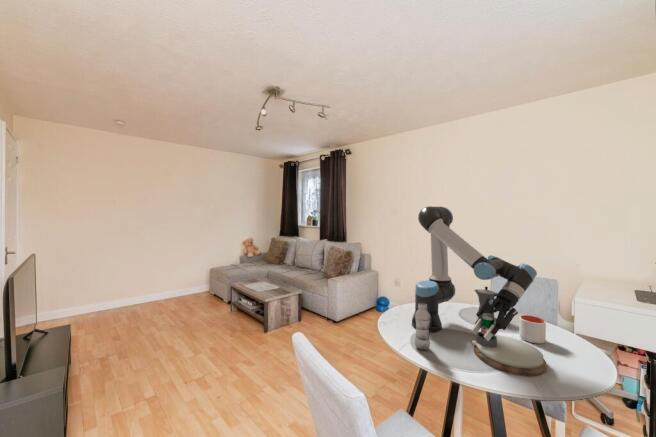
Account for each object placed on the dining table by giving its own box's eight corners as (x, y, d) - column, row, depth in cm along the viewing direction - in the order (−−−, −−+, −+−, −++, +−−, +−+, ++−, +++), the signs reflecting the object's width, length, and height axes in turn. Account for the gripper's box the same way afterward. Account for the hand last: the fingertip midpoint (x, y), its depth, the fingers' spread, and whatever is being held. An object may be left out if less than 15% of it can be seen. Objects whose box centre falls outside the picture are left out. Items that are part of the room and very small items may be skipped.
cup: (550, 345, 121) (550, 324, 121) (525, 343, 123) (526, 322, 122) (537, 335, 131) (538, 315, 130) (515, 333, 132) (515, 314, 132)
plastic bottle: (418, 343, 123) (418, 300, 123) (432, 348, 118) (433, 304, 118) (411, 348, 119) (412, 304, 118) (426, 353, 114) (426, 308, 113)
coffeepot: (470, 315, 156) (470, 285, 156) (477, 311, 162) (478, 283, 162) (499, 324, 144) (500, 291, 144) (506, 320, 150) (506, 288, 149)
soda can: (478, 340, 115) (478, 314, 114) (485, 337, 117) (485, 311, 116) (489, 346, 111) (490, 319, 110) (497, 343, 113) (497, 316, 112)
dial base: (471, 362, 107) (471, 356, 107) (476, 338, 128) (476, 333, 128) (550, 384, 93) (550, 378, 93) (542, 353, 114) (542, 348, 114)
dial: (537, 347, 115) (537, 335, 115) (549, 375, 95) (549, 361, 95) (473, 334, 127) (473, 323, 127) (471, 356, 107) (471, 344, 107)
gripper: (536, 307, 108) (504, 352, 104) (495, 293, 126) (467, 331, 122) (527, 295, 106) (494, 340, 102) (487, 283, 124) (458, 321, 120)
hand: (479, 335), depth 112 cm, fingers open, 6 cm apart
